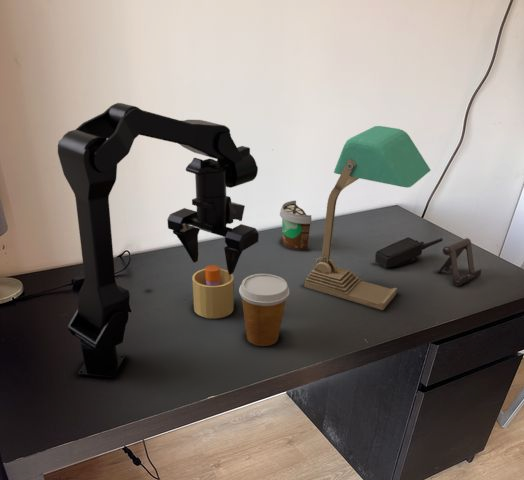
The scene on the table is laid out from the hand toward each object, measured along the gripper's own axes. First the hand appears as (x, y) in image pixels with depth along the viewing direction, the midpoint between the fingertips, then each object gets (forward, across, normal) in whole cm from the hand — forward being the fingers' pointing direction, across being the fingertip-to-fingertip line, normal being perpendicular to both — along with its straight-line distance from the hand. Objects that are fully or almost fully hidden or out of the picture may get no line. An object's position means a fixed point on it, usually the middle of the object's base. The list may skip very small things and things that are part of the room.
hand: (213, 267), depth 109 cm
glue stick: (+9, 0, 0) cm, 9 cm away
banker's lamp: (+10, -21, -25) cm, 34 cm away
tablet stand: (+10, -39, -47) cm, 62 cm away
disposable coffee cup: (+10, -15, +4) cm, 18 cm away
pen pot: (+10, 0, 0) cm, 10 cm away
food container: (+10, +4, -39) cm, 41 cm away
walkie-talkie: (+10, -26, -50) cm, 57 cm away
